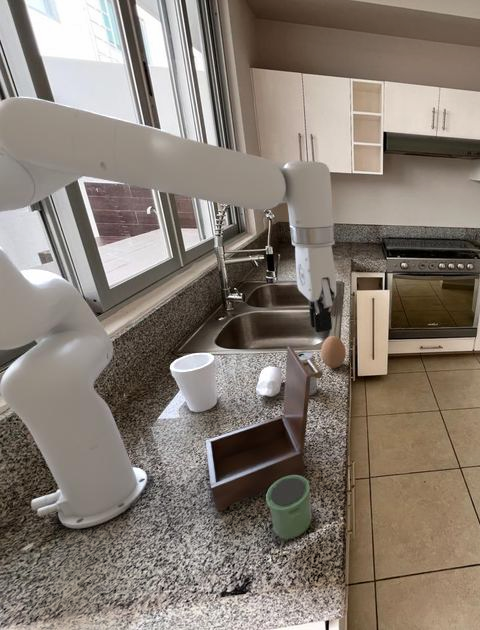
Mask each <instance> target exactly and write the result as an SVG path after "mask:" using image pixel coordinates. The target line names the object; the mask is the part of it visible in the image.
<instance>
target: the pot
mask: <svg viewBox="0 0 480 630" xmlns="http://www.w3.org/2000/svg"><path fill="white" fill-rule="evenodd" d="M310 491H311V488H310V482H309V480H308V479H307V478H306V477H304V476H303V475H301V476H299V475H290V476H286V477H283V478H281V479H279V480H277V481H276V482H275V483H274V484H273V485H272V486H271V487H270V488H269V489H268V490H267V492H266V494H265V502H266V505H267V507H268V508H269V512H270V513H269V514H270V519H271V523H272V528H273V532H274V534H275V536H277V537H278V538H279V539H284V540H285V539H286V540H288V539H294V538H296V537H299V536H300V535H302V534H303V533H305V531H306V530H307V529H308V528H309V526H310V525H311V524H312V523H311V522H312V519H313V514H312V507H311V499H310Z"/></svg>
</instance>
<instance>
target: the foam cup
mask: <svg viewBox="0 0 480 630" xmlns="http://www.w3.org/2000/svg"><path fill="white" fill-rule="evenodd" d="M216 366H217V365H216V360H215V356H214V355H213V354H211V353H206V352H197V353H192V354H191V353H190V354H187V355H184V356H182V357H179V358H177V359H175V360H174V361H173V362H172V363H170V366H169V370H170V374H171V376H172V378H173V379H174V380H175V382H176V384H177V387H178V388H179V390H180V393H181V395H182V397H183V400H184V401H185V403H186V405H187V407H188V409H189V410H190V411H191V412H192V413H193V412H194V413H201V412H205V411H208V410H210V409H212V408H214V407H215V406H216V405H217V403H218V395H217V393H218V392H217V380H216V379H217V377H216Z"/></svg>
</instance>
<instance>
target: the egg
mask: <svg viewBox="0 0 480 630" xmlns="http://www.w3.org/2000/svg"><path fill="white" fill-rule="evenodd" d="M346 355H347V352H346V347H345V344H344V342H343V341H342V340H341V339H340V337H338V336H336V335H330V336H328V337H327V338H325V339H324V341H323V343H322V345H321V349H320V356H321V361H322V362H323V363H324V364H325V366H326V367H328V368H331V369H337V368H339V367H341V366H342V365H343V364H344V362H345V361H346V360H345V359H346Z"/></svg>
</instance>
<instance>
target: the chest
mask: <svg viewBox="0 0 480 630" xmlns="http://www.w3.org/2000/svg"><path fill="white" fill-rule="evenodd" d="M205 450H206V451H205V452H206V458H207V466H208V475H209V484H210V490H211V494H212V497H213V503H214V506H215V509H216V511H217V512H218V511H220V510H223V509H225V508H227V507H228V508H229V507H230V506H233V505H234V504H237V503H239V502H242V501H244V500H246V499H249V498H252V497H254V496H256V495H258V494H260V493H263V492H266V491H268V490H269V488H270V487H271V486H272V485H273V484H274V483H275V482H276V481H277V480H279V479H281V478H283V477H286V476H290V475H299V476H303V475H305V474H306V471H305V462H304V456H303V451H300V450H299V448H298V445H297V443H296V441H295V439H294V436H293V434H292V432H291V430H290V427H289V425H288V423H287V421H286V419H285V416H284V414H282V415H279V416H276V417H273V418H270V419H267V420H264V421H261V422H258V423H255V424H252V425H249V426H246V427H242V428H240V429H236V430H233V431H230V432H228V433H224V434H222V435H218V436H215V437H212V438H209V439H206V440H205Z"/></svg>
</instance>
